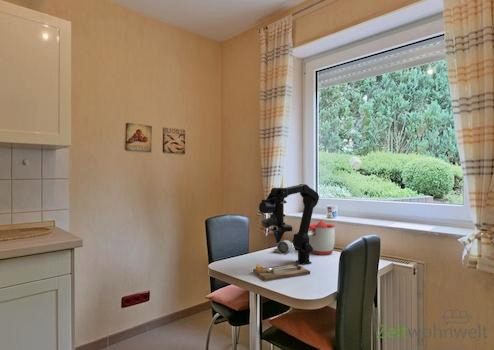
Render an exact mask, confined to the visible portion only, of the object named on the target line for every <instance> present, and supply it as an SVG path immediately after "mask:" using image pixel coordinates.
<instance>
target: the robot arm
mask: <svg viewBox="0 0 494 350" xmlns="http://www.w3.org/2000/svg"><path fill="white" fill-rule="evenodd" d="M298 193H299V194H300V196H301V197H302V203H303V209H302V210H303V211H302V214H301V220H300V224H299V229H298V232H297V233H294V234H293V239H292V246H293V248H294V251H297V260H295V262H296V263H298V264H300V265H307V264H312V262H313V261H310V254H311V253H313V252H312V250H313V248H312V246H311V245H310V241H309V235H308V232H309V226H310V224H311V221H312V218H313V217H312V215H313V211H314V208H315V207H316V206H317V205H318V202H319V199H320V195H319V194H318V192H317V191H316V190H315V189H313V188H311V187H310V186H309V185H308V184H306V183H305V184H304V183H300V184H296V185H293V186H292V185H291V186H287V187H272V188H271V190H270V192H269V194H268V196H267V197H266V199H262V200H261V202H260V203H259V205H258V210H259V212H260V214H261V215H264V214H270V215H269V217H267V218H265V219H263V220H261V224H262V228H266V229H268V228H269V230H270V231H272V232H273V236H274V240H275V242H276V243H277V244H278V243H279V242H281V240H282V238H283V236H284V234H285V233H286V232H293V226H292V225H291V224H286V222H285V221H284V219H285V217H286V214H284V212H285V211H284V210H285V209H284V204H287V201H286V200H285V199H286V198H288V197H289V196H290V195H295V194H298Z"/></svg>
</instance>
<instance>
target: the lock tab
mask: <svg viewBox="0 0 494 350" xmlns="http://www.w3.org/2000/svg"><path fill="white" fill-rule="evenodd" d="M263 268H264V267H263V265H261V264H257V265H255V269H256V270H257V271H263Z"/></svg>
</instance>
